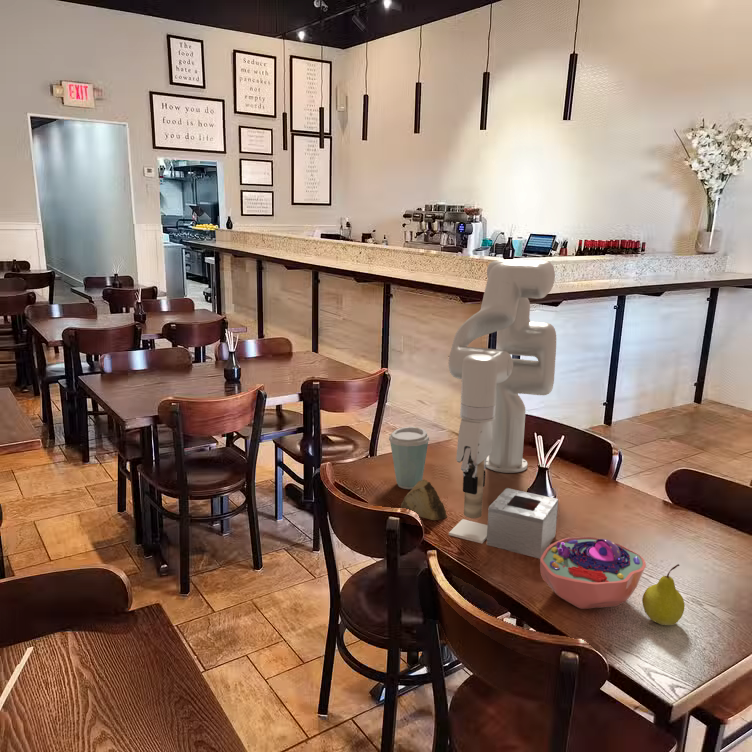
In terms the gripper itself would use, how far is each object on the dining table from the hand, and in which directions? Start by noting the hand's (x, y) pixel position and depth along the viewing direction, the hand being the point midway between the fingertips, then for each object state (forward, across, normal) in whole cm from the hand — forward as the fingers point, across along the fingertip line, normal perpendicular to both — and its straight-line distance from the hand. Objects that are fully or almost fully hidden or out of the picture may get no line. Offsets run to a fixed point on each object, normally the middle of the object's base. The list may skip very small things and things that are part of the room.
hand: (473, 488), depth 148 cm
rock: (+11, -3, -14) cm, 18 cm away
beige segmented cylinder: (+6, 0, 0) cm, 6 cm away
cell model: (+11, +14, +29) cm, 34 cm away
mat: (+11, 0, 0) cm, 11 cm away
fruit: (+11, +15, +42) cm, 46 cm away
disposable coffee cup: (+11, -17, -25) cm, 32 cm away
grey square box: (+11, -2, +11) cm, 16 cm away
